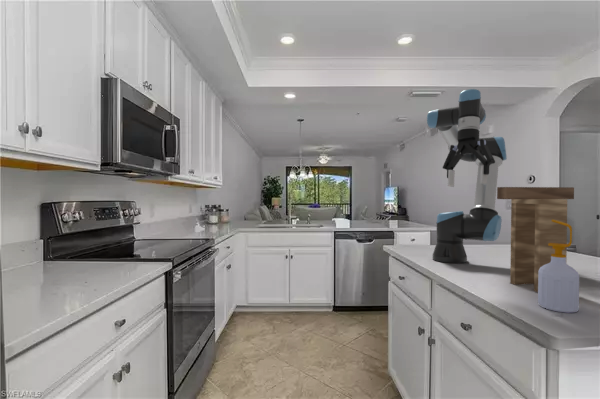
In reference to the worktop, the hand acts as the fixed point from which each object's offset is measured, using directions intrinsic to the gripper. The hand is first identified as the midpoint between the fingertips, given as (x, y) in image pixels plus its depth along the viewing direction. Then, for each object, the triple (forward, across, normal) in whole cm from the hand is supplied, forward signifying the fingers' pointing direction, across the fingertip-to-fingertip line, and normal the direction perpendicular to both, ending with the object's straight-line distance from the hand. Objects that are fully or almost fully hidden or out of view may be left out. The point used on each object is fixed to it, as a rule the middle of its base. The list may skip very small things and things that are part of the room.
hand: (466, 185), depth 129 cm
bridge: (+35, +19, +13) cm, 42 cm away
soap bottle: (+38, +33, -4) cm, 50 cm away
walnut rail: (+5, +20, +9) cm, 22 cm away
